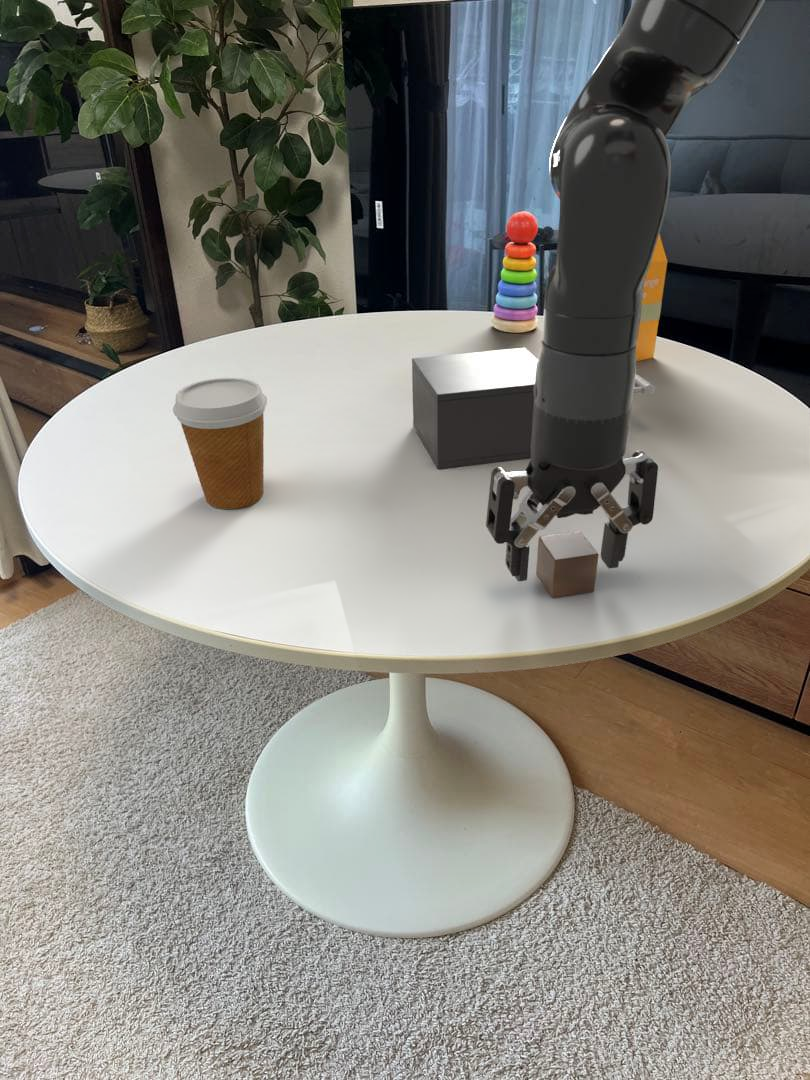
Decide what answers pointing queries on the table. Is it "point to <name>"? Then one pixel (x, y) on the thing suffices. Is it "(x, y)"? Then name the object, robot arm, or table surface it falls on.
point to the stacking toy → (518, 278)
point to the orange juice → (651, 303)
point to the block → (566, 564)
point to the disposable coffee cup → (225, 438)
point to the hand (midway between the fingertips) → (564, 569)
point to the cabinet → (474, 406)
